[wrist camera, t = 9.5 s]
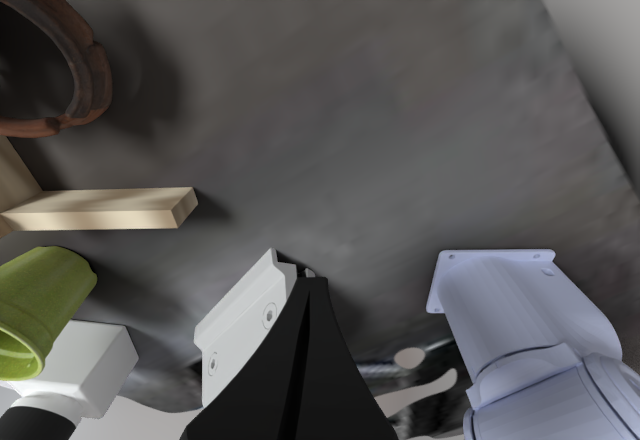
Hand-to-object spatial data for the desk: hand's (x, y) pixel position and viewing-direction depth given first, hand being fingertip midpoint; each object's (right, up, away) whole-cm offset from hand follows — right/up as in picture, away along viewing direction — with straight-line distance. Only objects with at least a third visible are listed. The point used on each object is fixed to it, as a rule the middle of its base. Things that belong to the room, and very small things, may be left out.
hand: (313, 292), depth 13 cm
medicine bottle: (-26, -11, +22) cm, 36 cm away
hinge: (-6, -6, +17) cm, 19 cm away
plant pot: (-25, -1, +15) cm, 29 cm away
